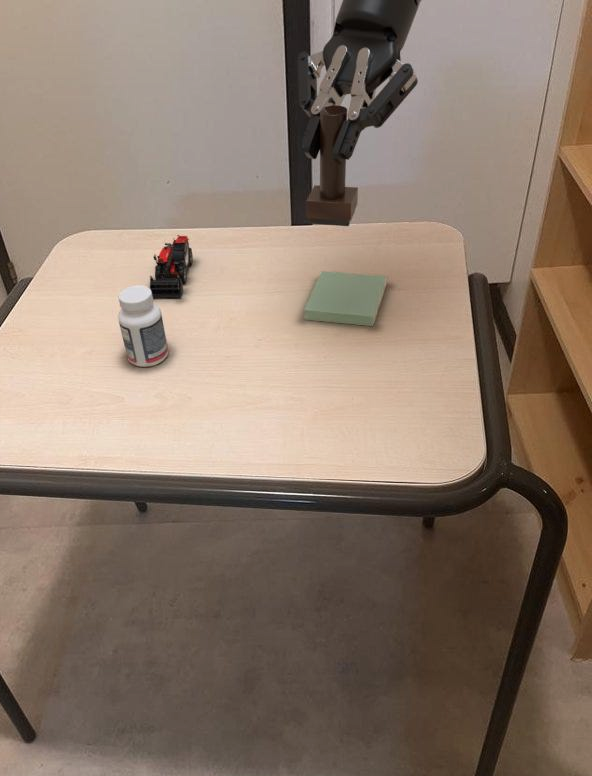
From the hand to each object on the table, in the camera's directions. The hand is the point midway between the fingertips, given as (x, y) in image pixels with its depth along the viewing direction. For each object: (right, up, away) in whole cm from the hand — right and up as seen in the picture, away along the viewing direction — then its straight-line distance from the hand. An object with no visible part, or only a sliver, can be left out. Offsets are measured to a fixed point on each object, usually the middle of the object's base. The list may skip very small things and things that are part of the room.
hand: (323, 157), depth 76 cm
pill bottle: (-20, -18, +16) cm, 32 cm away
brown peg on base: (+2, -4, +6) cm, 8 cm away
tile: (+6, -10, +20) cm, 23 cm away
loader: (-18, -5, +29) cm, 35 cm away
